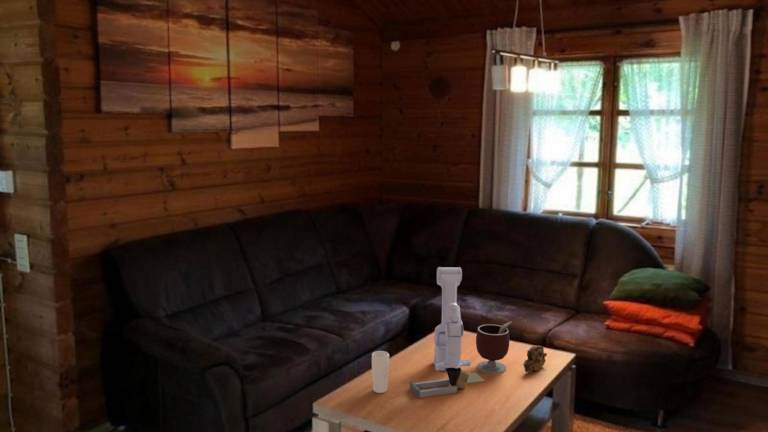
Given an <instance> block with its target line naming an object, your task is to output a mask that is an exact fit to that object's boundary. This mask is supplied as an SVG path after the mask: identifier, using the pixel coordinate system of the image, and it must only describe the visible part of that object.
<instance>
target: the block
mask: <svg viewBox="0 0 768 432" xmlns="http://www.w3.org/2000/svg"><path fill="white" fill-rule="evenodd" d="M468 373H469V372H467V371H466V370H464V369H461V372H460V374H459V376H458V378H457V380H456V383H455V386H457V389H461V390H462V389H464V390H465V389H466V387H467V380H468V377H469V374H468Z"/></svg>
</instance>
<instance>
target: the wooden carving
mask: <svg viewBox="0 0 768 432" xmlns="http://www.w3.org/2000/svg"><path fill="white" fill-rule="evenodd" d="M547 355H548V353H547V352H545V350H544V346H543V345H532V346H531V347H529V350H527V351H526V356H527V359H525V360H524V362H523V364H522V365H523V368H524V372H525V373H526V372H527V373H532V372H533V371H538V370H541V369H542V368H543V367H544V365H545V363H546V361H547V360H546V357H547Z"/></svg>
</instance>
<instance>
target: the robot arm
mask: <svg viewBox="0 0 768 432" xmlns="http://www.w3.org/2000/svg"><path fill="white" fill-rule="evenodd" d="M462 270H463V269H462V268H461V267H460V266H458V267H453V266H452V267H447V266H445V267H444V266H443V267H442V266H438V267H437V268H436V284H437V285H438V286H440V288H441V323H440V324H438V325H437V326H436V327H435V329H434V334H433V335H434V336H433V338H434V339H433V340H434V342H433V343H434V345H435V347H434V349H433V350H434V355H433V360H434V361H432V362H431V363H432V364H433V365H434V369H435V370H436V371H441V372H442V371H446V372H445V373H446V374H447V377H448V379H449V382H450V385H449V386H455V383H456V380H457V378H458V376H459V374H460V372H461V370H462V368H461V367H472V361H471V360H470V359H462V358H461V357H462V356H461V355H462V354H461V353H462V338H463V336H464V325H463V320H462V319H461V318H462V316H461V315H462V314H461V308H460V307H461V306H460V305H458V303H457V299H458V298H457V294H458V292H457V291H458V286H460V284H461V282H462V279H463V271H462Z"/></svg>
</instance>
